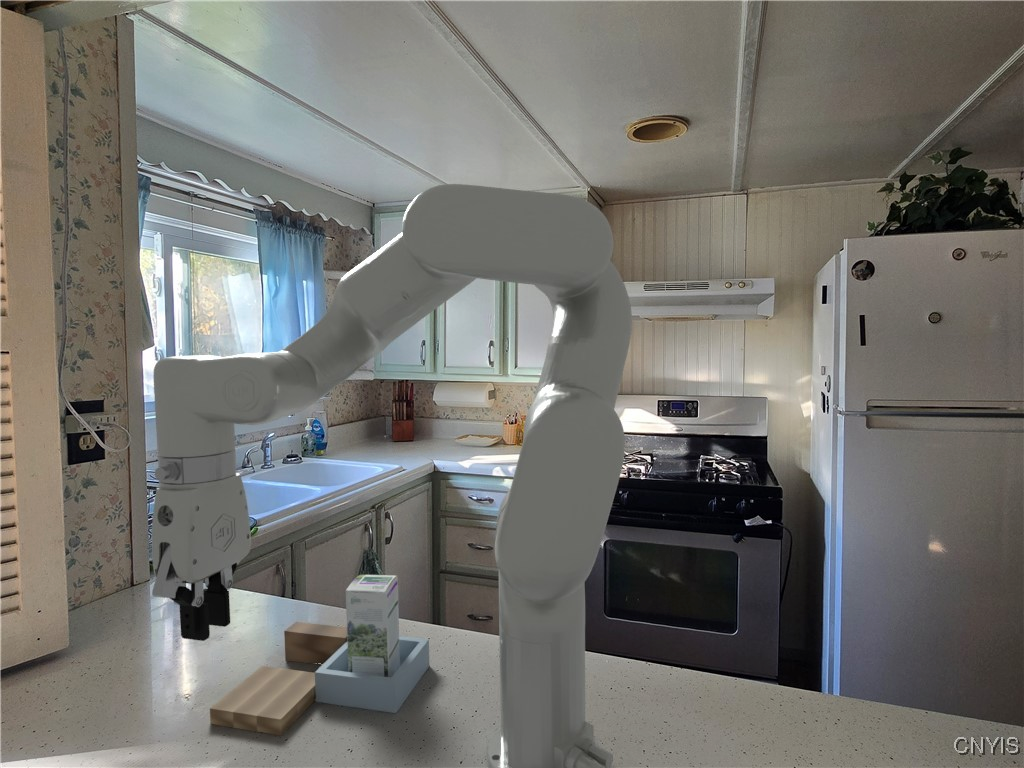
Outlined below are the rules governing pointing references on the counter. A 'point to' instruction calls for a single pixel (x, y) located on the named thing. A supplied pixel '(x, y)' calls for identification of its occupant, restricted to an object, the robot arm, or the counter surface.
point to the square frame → (372, 679)
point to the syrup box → (373, 625)
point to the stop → (313, 642)
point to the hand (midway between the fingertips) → (206, 629)
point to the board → (266, 701)
